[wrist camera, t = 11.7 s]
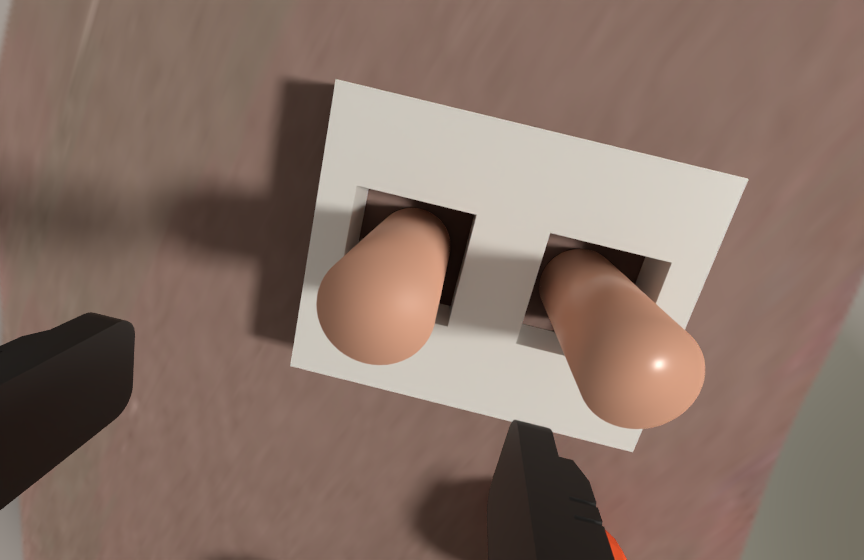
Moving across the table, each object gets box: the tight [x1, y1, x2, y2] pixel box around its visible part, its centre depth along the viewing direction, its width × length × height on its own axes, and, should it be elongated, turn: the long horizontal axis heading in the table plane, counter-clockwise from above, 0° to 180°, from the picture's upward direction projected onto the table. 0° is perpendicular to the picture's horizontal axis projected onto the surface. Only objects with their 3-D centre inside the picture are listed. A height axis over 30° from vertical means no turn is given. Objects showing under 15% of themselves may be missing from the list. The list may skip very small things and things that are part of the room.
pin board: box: [290, 79, 748, 452], centre depth 20 cm, size 14×18×10 cm
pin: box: [316, 208, 451, 365], centre depth 21 cm, size 4×4×10 cm
